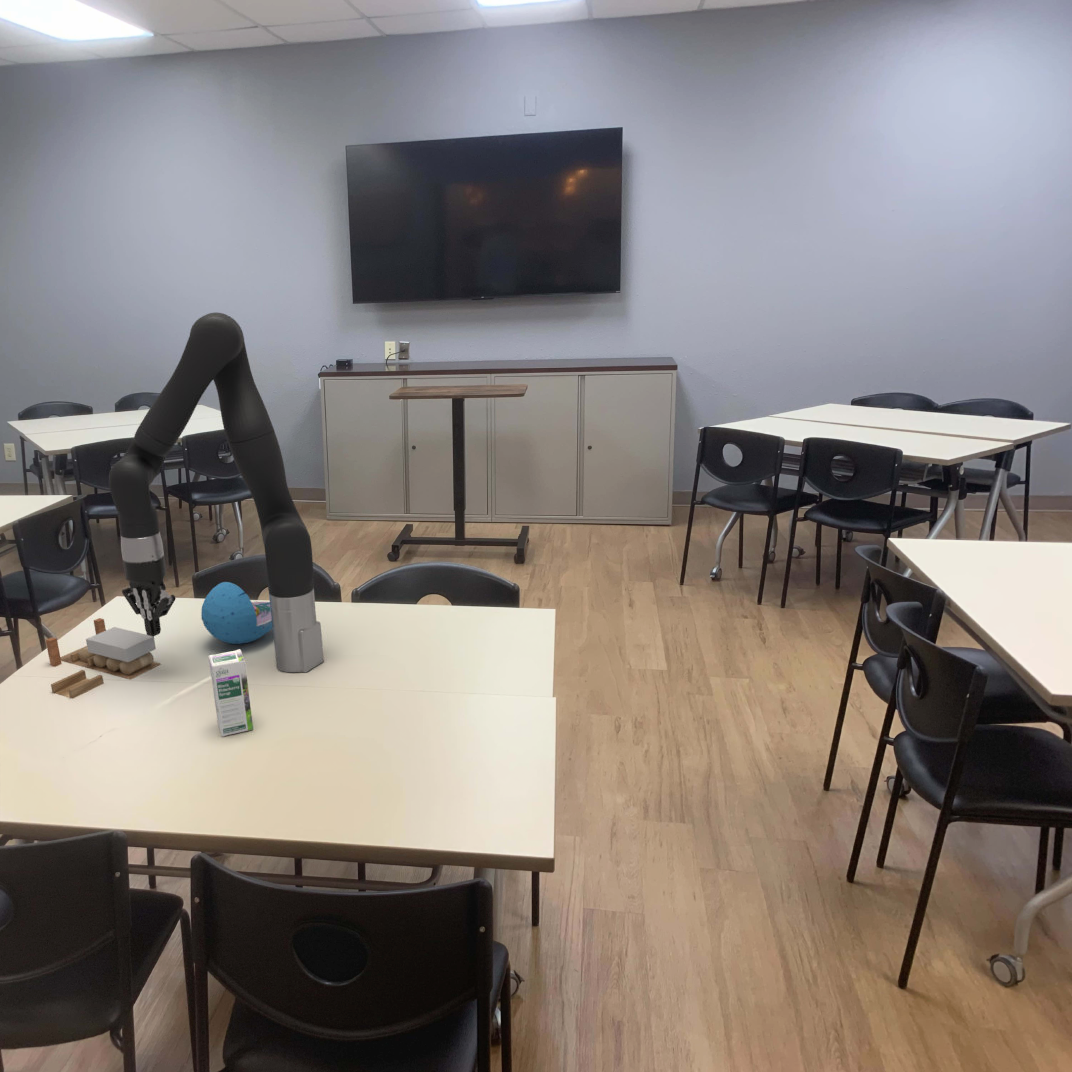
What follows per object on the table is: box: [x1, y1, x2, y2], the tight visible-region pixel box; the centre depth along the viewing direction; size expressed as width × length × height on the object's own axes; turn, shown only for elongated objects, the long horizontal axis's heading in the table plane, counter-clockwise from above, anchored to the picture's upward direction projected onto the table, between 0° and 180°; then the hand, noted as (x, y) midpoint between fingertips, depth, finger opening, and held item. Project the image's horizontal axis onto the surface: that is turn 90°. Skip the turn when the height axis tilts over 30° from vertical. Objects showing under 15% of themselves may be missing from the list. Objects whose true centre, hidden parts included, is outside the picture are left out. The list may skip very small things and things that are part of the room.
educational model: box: [201, 581, 273, 645], centre depth 187 cm, size 16×19×15 cm
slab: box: [85, 626, 156, 662], centre depth 172 cm, size 12×7×3 cm, turn 65°
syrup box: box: [208, 648, 254, 738], centre depth 150 cm, size 6×6×14 cm
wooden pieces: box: [45, 617, 162, 699], centre depth 172 cm, size 23×21×7 cm
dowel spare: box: [78, 647, 97, 663], centre depth 177 cm, size 3×5×3 cm, turn 155°
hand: (153, 634), depth 167 cm, fingers closed
